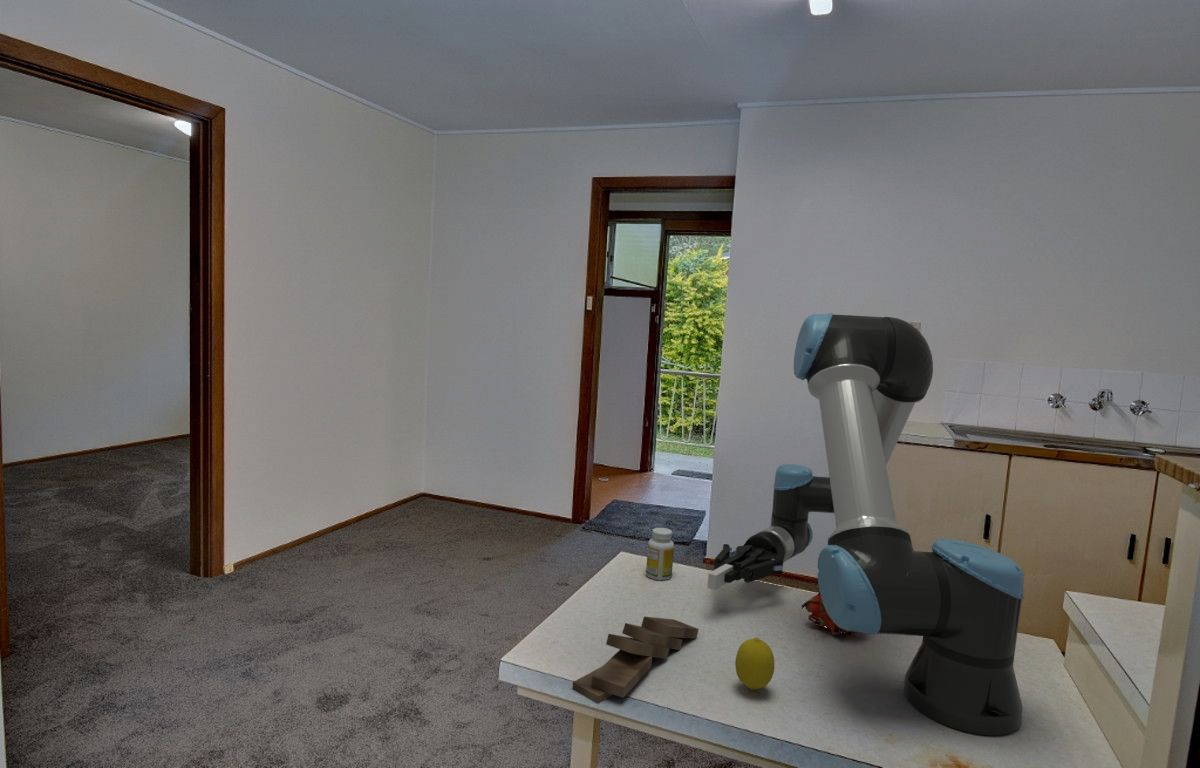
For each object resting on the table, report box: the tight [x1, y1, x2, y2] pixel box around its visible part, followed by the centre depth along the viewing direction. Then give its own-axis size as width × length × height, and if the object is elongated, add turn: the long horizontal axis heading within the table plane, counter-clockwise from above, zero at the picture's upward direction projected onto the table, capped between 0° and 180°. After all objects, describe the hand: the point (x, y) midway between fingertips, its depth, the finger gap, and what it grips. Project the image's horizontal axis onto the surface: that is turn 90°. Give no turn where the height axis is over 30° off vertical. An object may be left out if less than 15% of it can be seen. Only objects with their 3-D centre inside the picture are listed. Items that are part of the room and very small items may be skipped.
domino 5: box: [640, 616, 699, 639], centre depth 114 cm, size 5×2×10 cm
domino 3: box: [591, 649, 653, 699], centre depth 101 cm, size 5×2×10 cm
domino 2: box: [605, 633, 670, 660], centre depth 106 cm, size 5×2×10 cm
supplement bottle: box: [645, 527, 675, 581], centre depth 142 cm, size 5×5×10 cm
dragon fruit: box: [801, 591, 855, 636], centre depth 122 cm, size 8×8×12 cm
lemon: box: [735, 636, 775, 692], centre depth 101 cm, size 6×6×8 cm
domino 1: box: [571, 666, 644, 704], centre depth 101 cm, size 5×2×10 cm
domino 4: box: [621, 622, 683, 651], centre depth 110 cm, size 5×2×10 cm
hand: (711, 581), depth 123 cm, fingers closed
